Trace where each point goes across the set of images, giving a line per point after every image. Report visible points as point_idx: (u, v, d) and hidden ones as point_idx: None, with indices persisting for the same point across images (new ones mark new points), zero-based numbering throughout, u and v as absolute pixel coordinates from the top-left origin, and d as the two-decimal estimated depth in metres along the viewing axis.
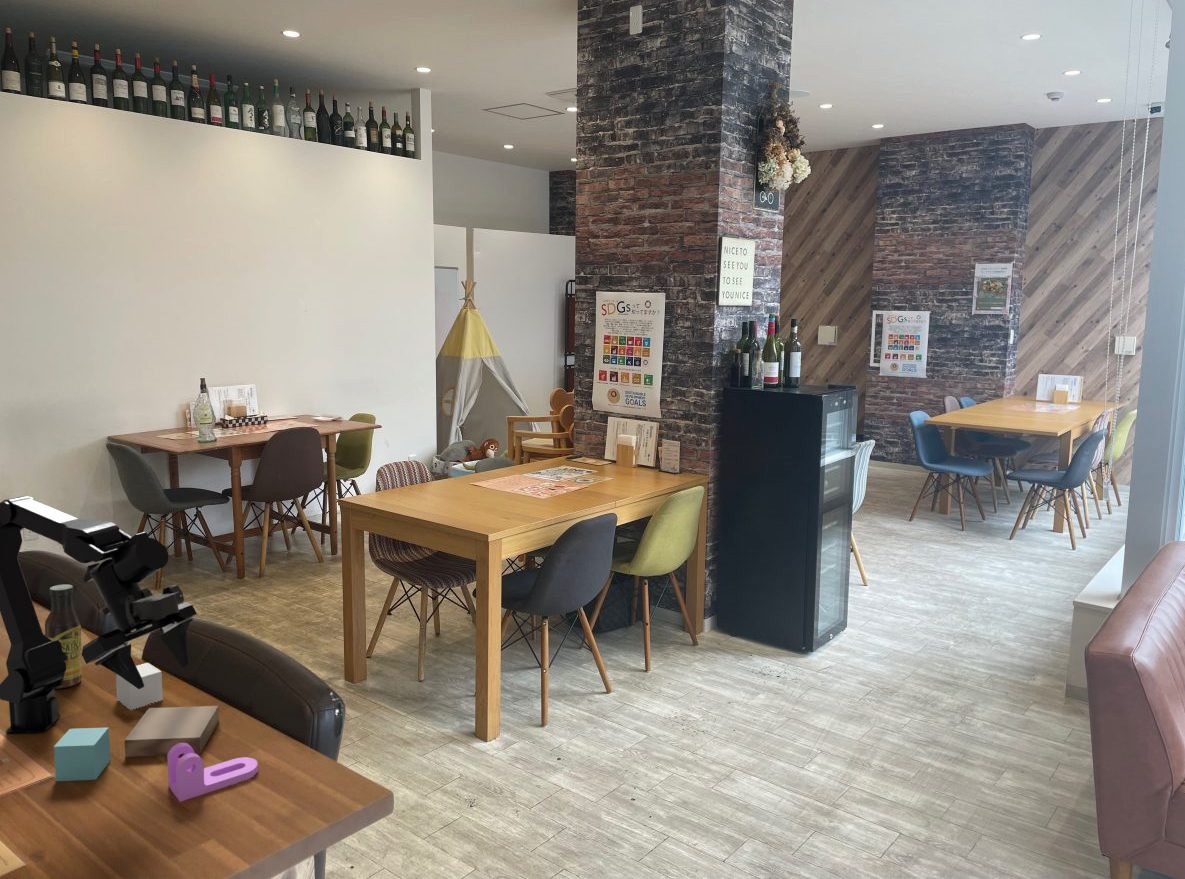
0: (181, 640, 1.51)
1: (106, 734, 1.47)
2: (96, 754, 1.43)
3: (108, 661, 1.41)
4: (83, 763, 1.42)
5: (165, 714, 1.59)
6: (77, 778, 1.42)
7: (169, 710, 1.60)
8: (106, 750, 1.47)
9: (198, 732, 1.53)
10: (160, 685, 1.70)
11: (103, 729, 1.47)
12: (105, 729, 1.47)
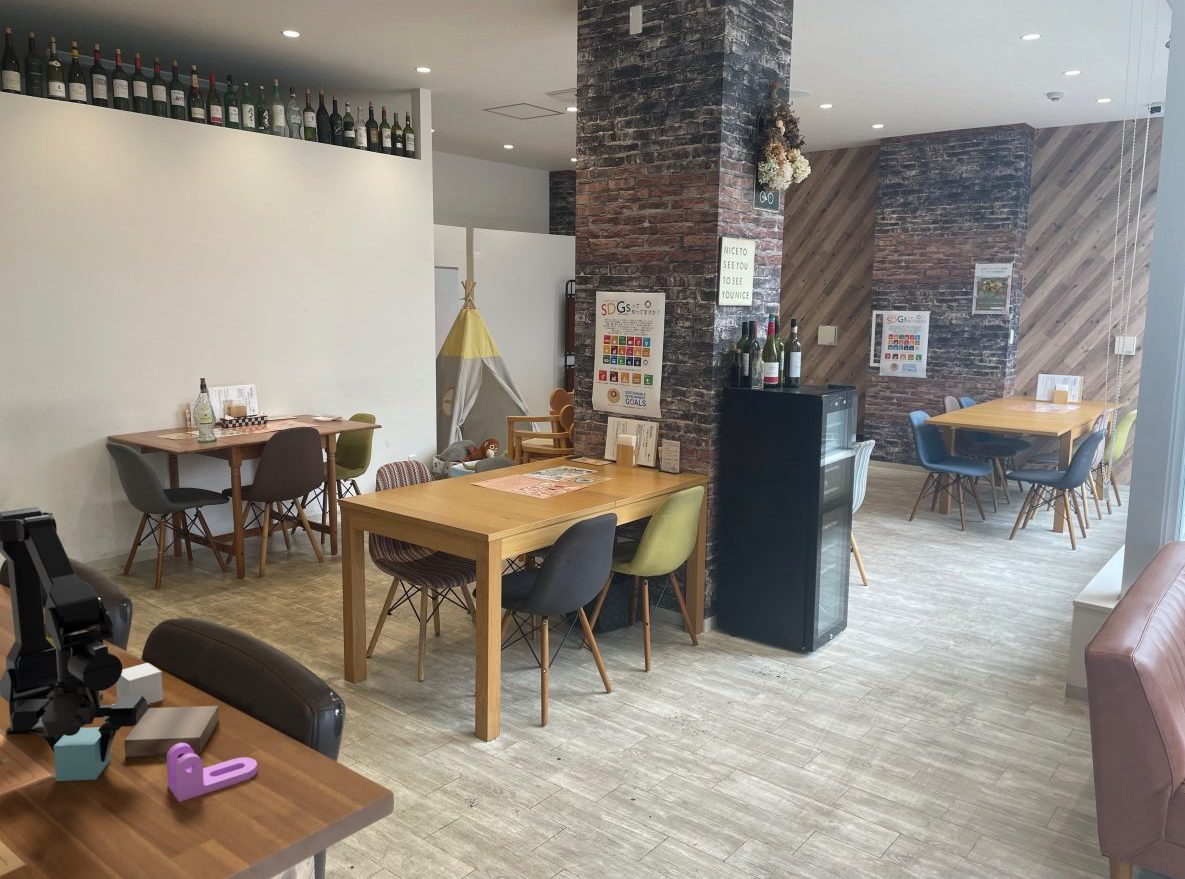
0: (103, 739, 1.44)
1: None
2: (96, 754, 1.43)
3: None
4: (83, 763, 1.42)
5: (165, 714, 1.59)
6: (77, 777, 1.42)
7: (169, 710, 1.60)
8: None
9: (198, 732, 1.53)
10: (160, 685, 1.70)
11: None
12: None
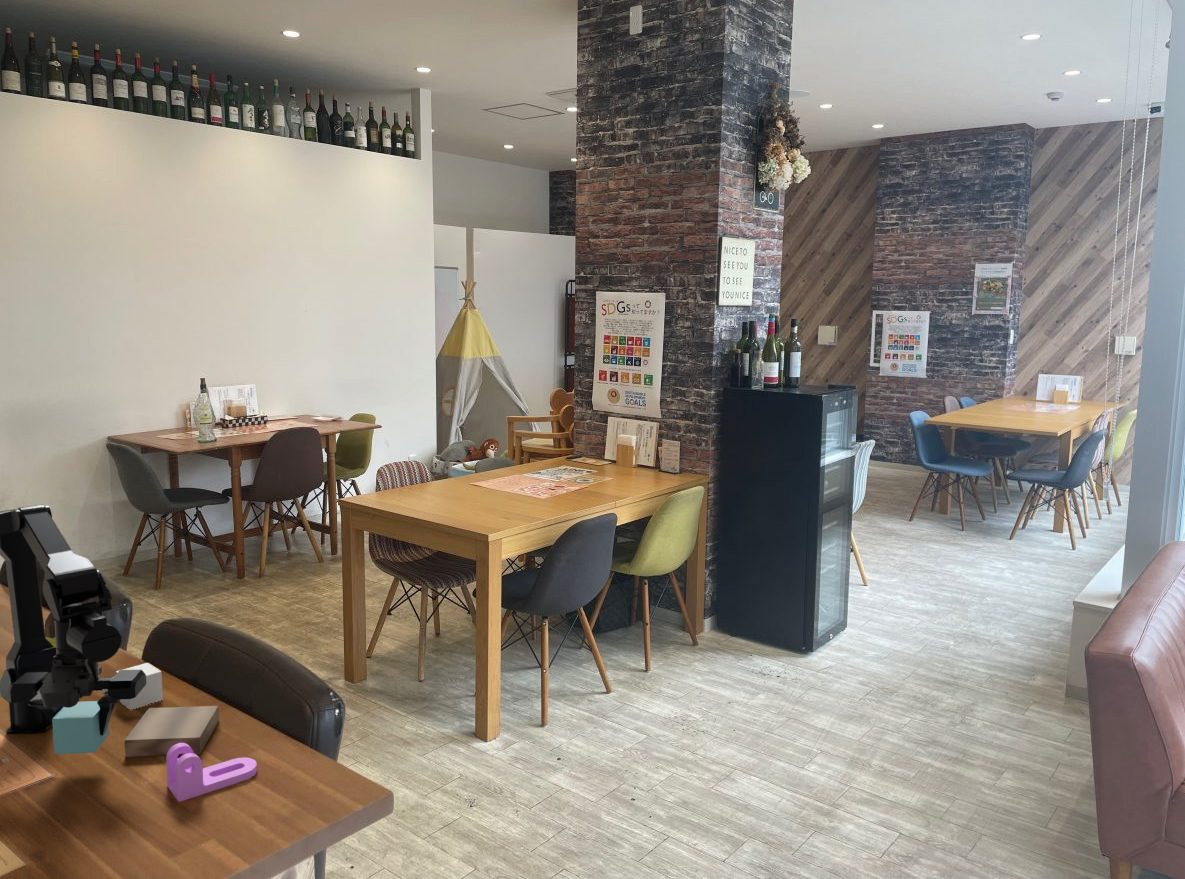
0: (102, 712, 1.43)
1: None
2: (95, 727, 1.42)
3: None
4: (81, 736, 1.41)
5: (165, 714, 1.59)
6: (76, 750, 1.41)
7: (169, 710, 1.60)
8: None
9: (198, 732, 1.53)
10: (160, 685, 1.70)
11: None
12: None
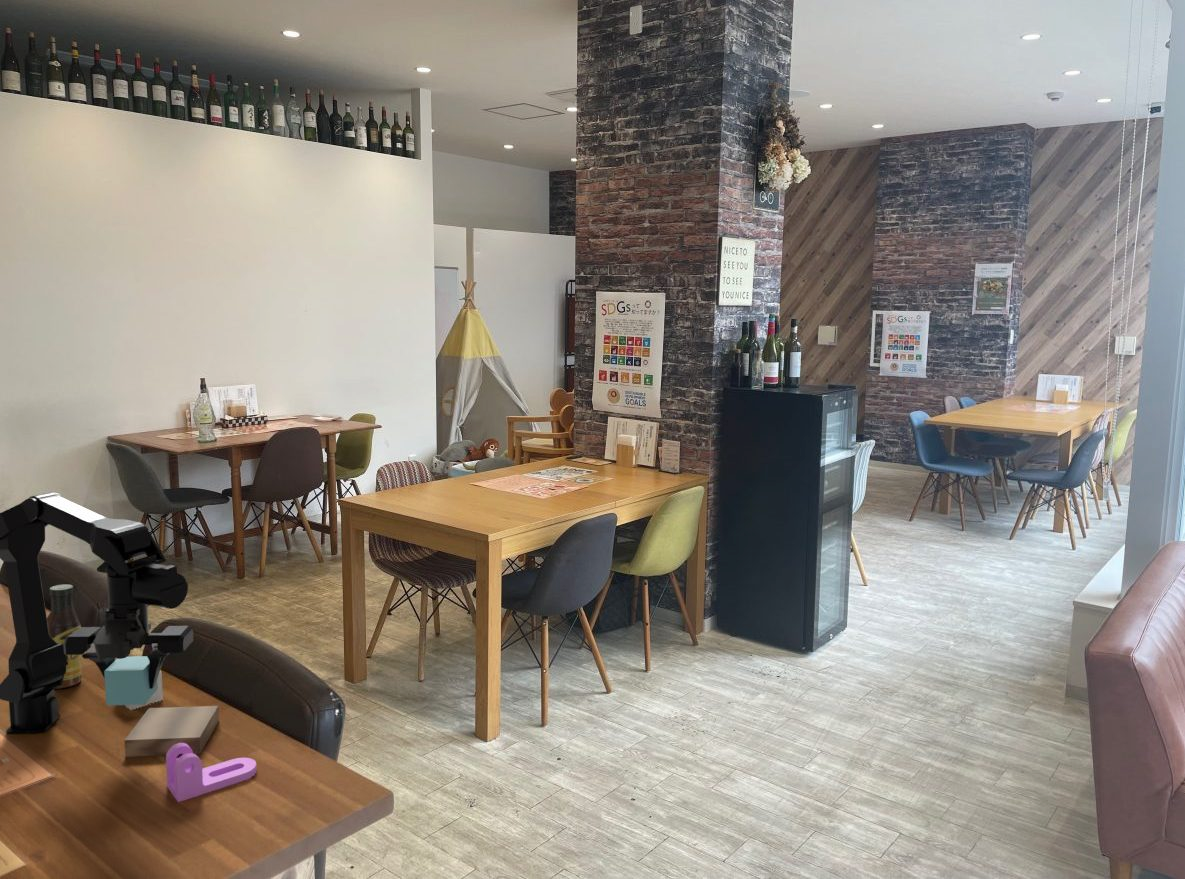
0: (151, 666, 1.48)
1: None
2: (145, 680, 1.47)
3: None
4: (132, 688, 1.46)
5: (165, 714, 1.59)
6: (126, 702, 1.47)
7: (169, 710, 1.60)
8: None
9: (198, 732, 1.53)
10: (160, 685, 1.70)
11: None
12: None
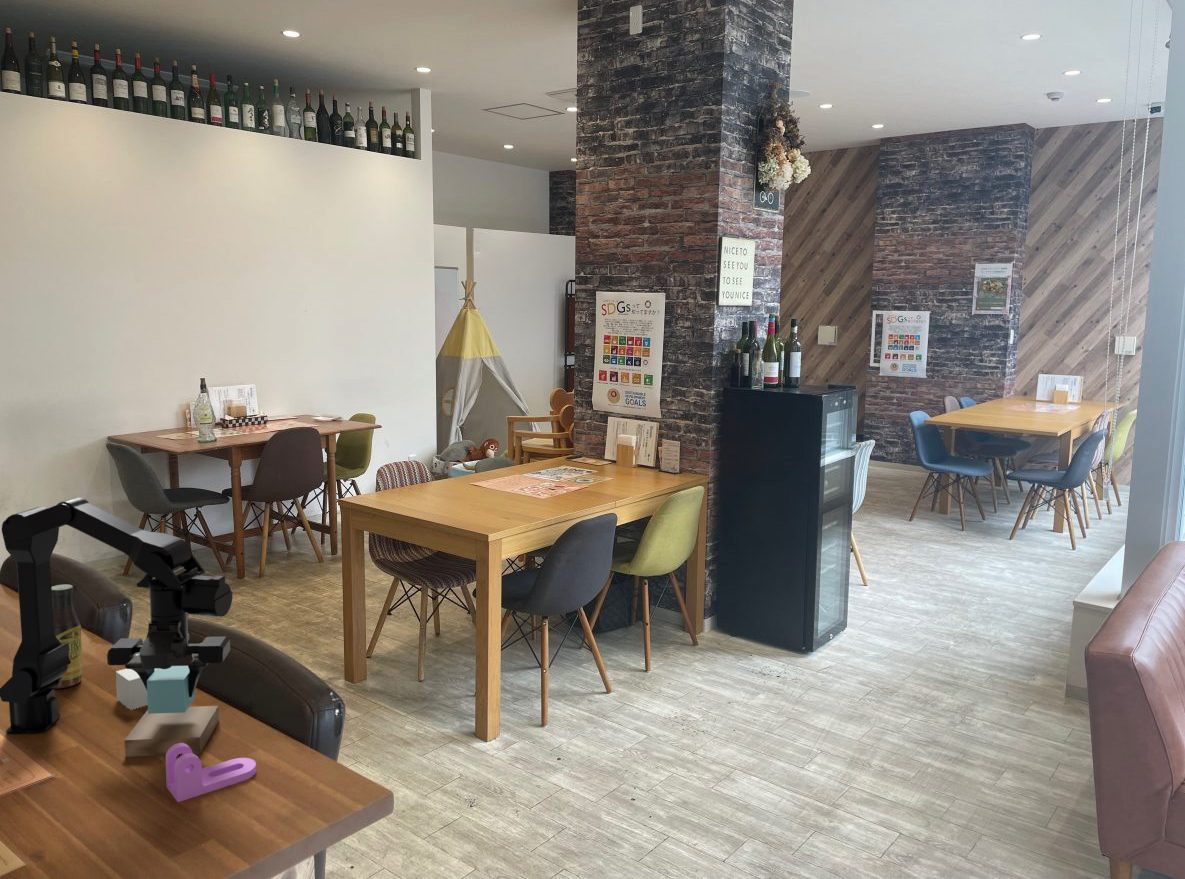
0: (191, 675, 1.54)
1: None
2: (185, 689, 1.53)
3: None
4: (173, 697, 1.52)
5: (165, 714, 1.59)
6: (168, 710, 1.53)
7: None
8: None
9: (198, 732, 1.53)
10: None
11: None
12: None
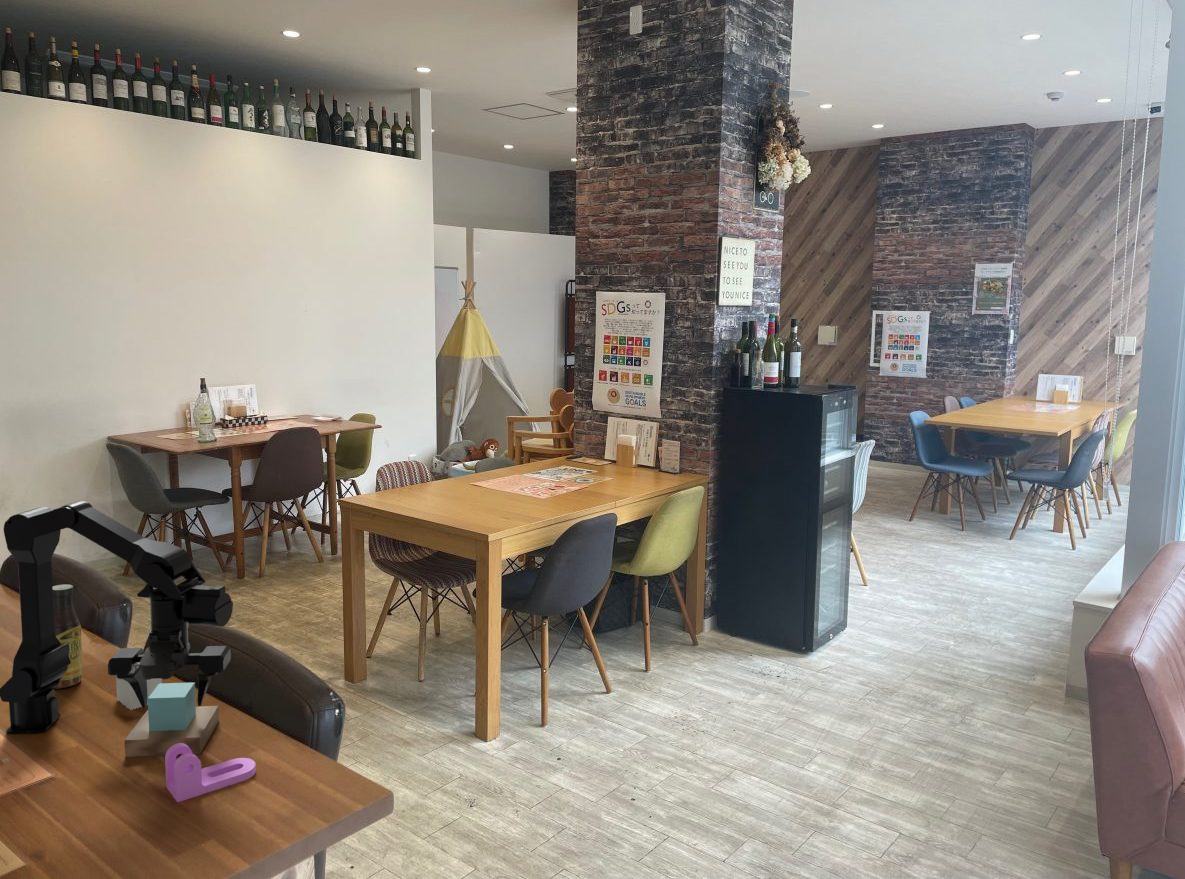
0: (200, 684, 1.55)
1: (193, 688, 1.58)
2: (186, 706, 1.54)
3: None
4: (174, 714, 1.53)
5: None
6: (168, 728, 1.53)
7: None
8: (193, 703, 1.58)
9: (198, 732, 1.53)
10: None
11: (190, 684, 1.58)
12: (192, 684, 1.58)
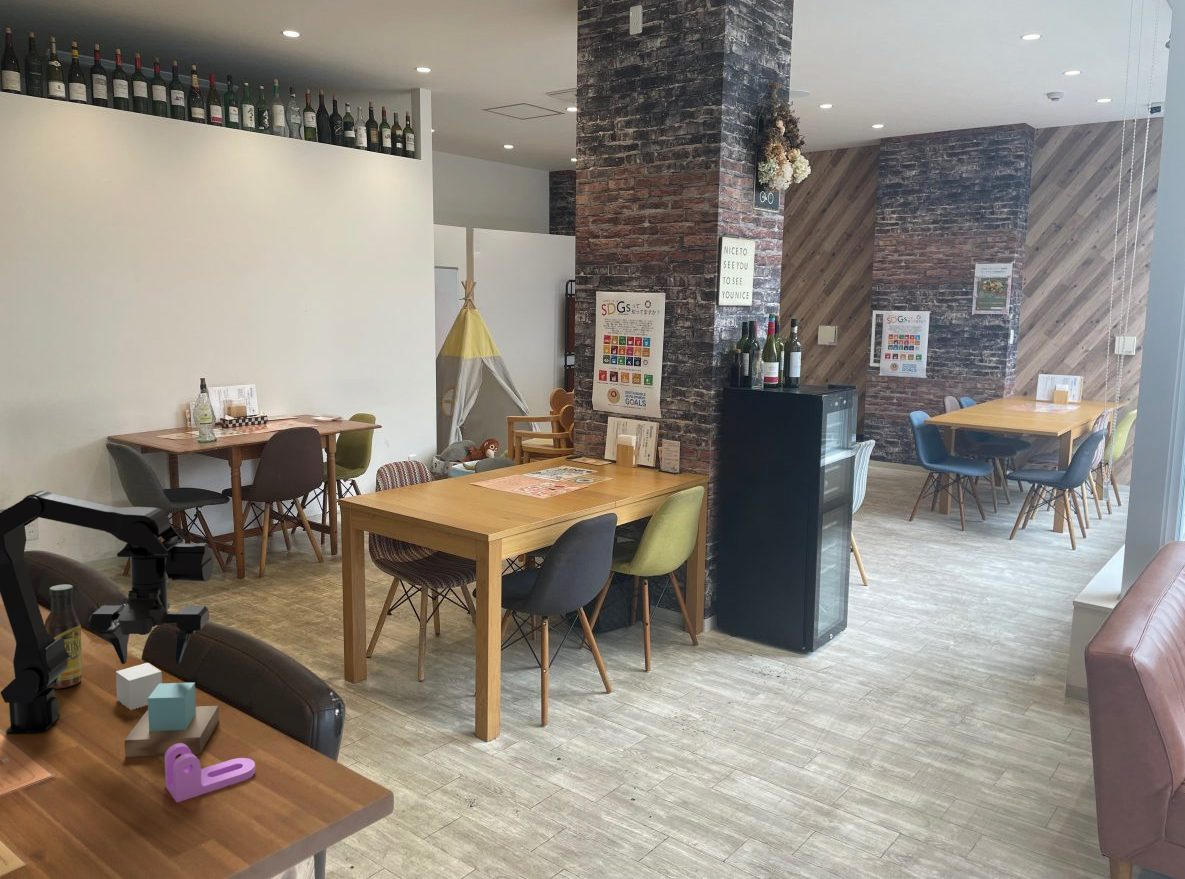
0: (178, 642, 1.58)
1: (193, 688, 1.58)
2: (186, 706, 1.54)
3: None
4: (174, 714, 1.53)
5: None
6: (168, 728, 1.53)
7: None
8: (193, 703, 1.58)
9: (198, 732, 1.53)
10: None
11: (190, 684, 1.58)
12: (192, 684, 1.58)
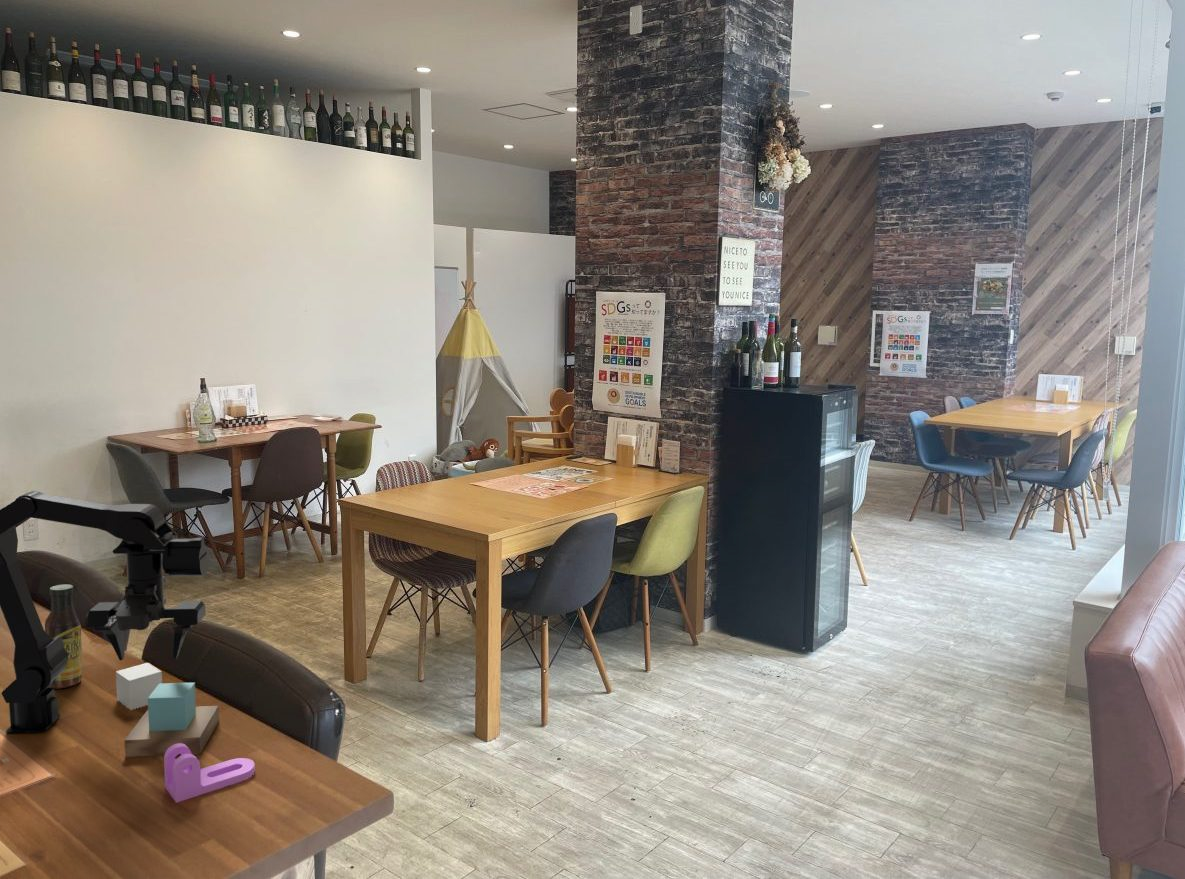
0: (175, 637, 1.60)
1: (193, 688, 1.58)
2: (186, 706, 1.54)
3: None
4: (174, 714, 1.53)
5: None
6: (168, 728, 1.53)
7: None
8: (193, 703, 1.58)
9: (198, 732, 1.53)
10: None
11: (190, 684, 1.58)
12: (192, 684, 1.58)
